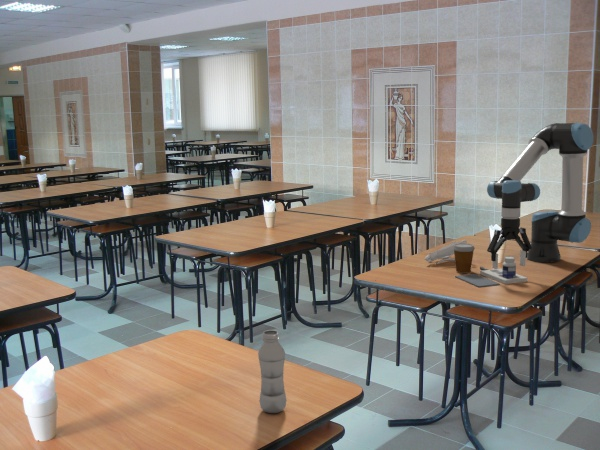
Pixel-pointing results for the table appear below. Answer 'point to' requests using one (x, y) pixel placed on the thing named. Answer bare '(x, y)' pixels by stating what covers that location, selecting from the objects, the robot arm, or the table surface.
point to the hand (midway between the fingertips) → (508, 267)
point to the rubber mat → (477, 280)
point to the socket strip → (497, 275)
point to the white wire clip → (443, 253)
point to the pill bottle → (509, 268)
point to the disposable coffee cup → (463, 257)
